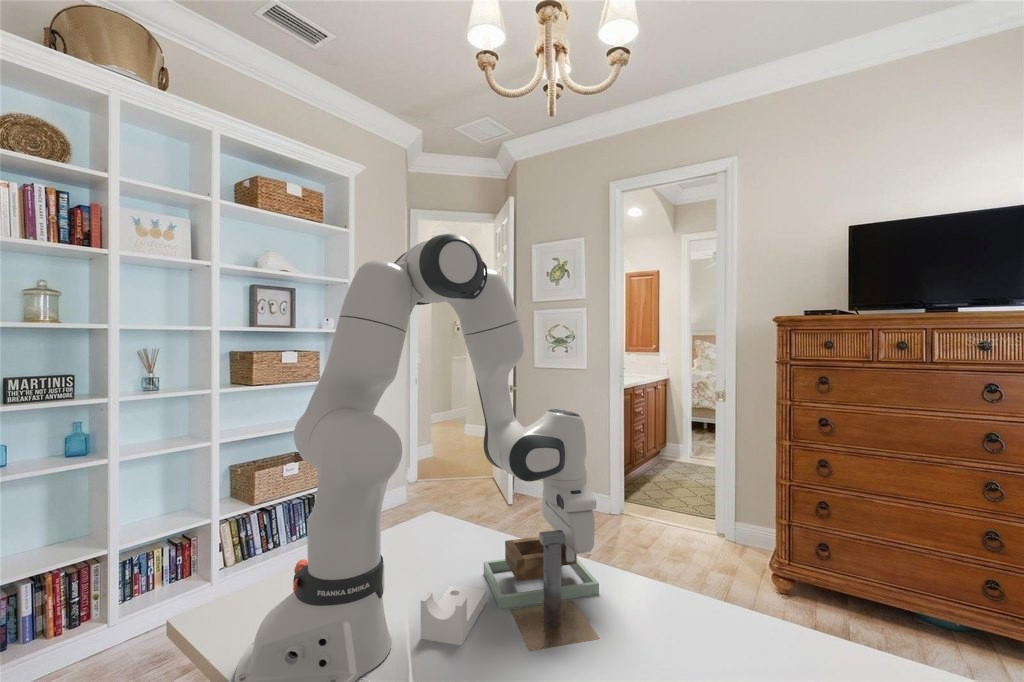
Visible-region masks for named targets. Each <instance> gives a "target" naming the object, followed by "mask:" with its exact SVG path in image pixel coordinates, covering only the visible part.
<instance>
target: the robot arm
mask: <svg viewBox="0 0 1024 682" xmlns="http://www.w3.org/2000/svg"><path fill="white" fill-rule="evenodd" d="M445 302H446V303H448V304H449V305H450V306H451V307H452V308H453V310H454V311H455V313H456V315H457V317H458V319H459V324H460V327H461V328H460V329H461V331H462V334H463V335H462V336H463V339H464V344H465V346H466V349H467V352H468V354H469V355H468V356H469V359H470V361H471V362H470V363H471V365H472V368H473V372H474V375H475V380H476V385H477V390H478V395H479V400H480V403H481V409H482V413H483V418H484V425H485V426H484V437H483V451H484V455H485V457H486V458H487V460H488V462H489V463H490V464H491V465H493V466H494V467H496V468H498V469H500V470H503V471H505V472H506V473H508V474H510V475H511V476H513V477H515V478H516V479H518V480H521V481H524V482H535V481H539V480H543V481H542V482H543V483H542V484H543V489H542V497H541V498H542V501H541V502H542V503H541V509H542V510H541V513H542V517H543V519H544V520H545V521H546V522H547V523H548V525H549V526H550V527H551V528H552V529H553V531H555V530H562V531H563V532H564V534H565V545H566V549H565V550H564V559H565V560H566V561H567V562H573V561H574V559H575V553H576V554H578V555H581V554H587V553H592V552H593V549H594V546H595V534H596V533H595V532H596V531H595V529H596V528H595V527H596V525H595V524H596V521H595V520H596V518H595V514H594V510H596V509H597V499H596V497H595V495H594V493H593V492H592V491H591V489H590V486H589V483H588V480H587V477H588V476H587V470H586V466H585V465H586V464H585V463H586V458H587V434H586V427H585V422H584V419H583V417H582V416H581V415H579V414H578V413H576V412H573V411H568V410H564V409H559V408H557V409H555V408H554V409H553V408H552V409H548V410H547V411H546V412H545V413H544V415H542V417H540V418H539V419H537V420H536V421H534V422H533V423H531V424H530V425H527V426H523V425H522V424H521V423H520V422H519V421H518V420H517V418H516V416H515V412H514V409H513V404H512V397H511V395H510V394H511V393H510V389H509V376H510V372H511V371H512V369H514V368H515V367H516V366H517V364H518V363H519V362H520V360H521V359H522V357H523V355H524V352H525V350H524V349H525V348H524V346H525V345H524V335H523V331H522V327H521V326H522V325H521V323H520V319H519V315H518V312H517V309H516V306H515V303H514V300H513V297H512V295H511V292H510V290H509V288H508V286H507V283H506V282H505V280H504V278H503V276H502V275H501V274H500V273H499V272H498V271H496V270H493V269H491V268H488V266H487V265H486V263H485V262H484V261H483V259H482V256H481V254H480V253H479V251H478V249H477V248H476V247H475V245H474V244H473V243H472V242H471V241H470V240H469V239H467V238H466V237H464V236H462V235H459V234H455V233H453V234H452V233H445V234H444V233H443V234H439V235H436V236H434V237H432V238H430V239H429V240H425V241H422V242H420V243H417V244H416V245H414V246H413V247H411V248H410V249H409V250H408V251H406V252H404V253H403V254H402V255H400V256H399V257H398V258H397V260H395V261H394V262H392V261H387V260H383V259H380V260H379V259H376V260H370V261H366V262H365V263H363V264H362V265H360V267H358V268H357V270H356V273H355V275H354V277H353V279H352V280H351V283H350V284H349V288H348V290H347V293H346V295H345V298H344V300H343V304H342V306H341V310H340V313H339V316H338V320H337V324H336V329H335V331H334V336H333V339H332V343H331V346H330V351H329V354H328V357H327V361H326V364H325V365H324V370H323V372H322V374H321V376H320V378H319V380H318V383H317V385H316V386H315V389H314V391H313V393H312V395H311V397H310V400H309V402H308V404H307V407H306V409H305V411H304V412H303V414H302V415H301V416H300V417H299V419H297V422H296V424H295V427H294V430H293V431H294V432H293V441H294V444H295V448H296V450H297V452H298V454H299V456H300V457H301V458H302V460H303V461H304V462H305V463H306V464H308V465H309V466H310V467H313V468H314V469H315V470H316V474H317V479H318V480H317V482H318V483H317V489H316V495H315V499H314V504H313V508H312V511H311V512H310V513H309V515H308V517H307V522H306V523H307V524H306V525H307V526H306V527H307V528H306V529H307V534H306V535H307V536H306V539H307V542H306V543H307V559H306V558H304V559H300V560H298V561H297V562H296V565H295V567H294V569H293V572H294V575H293V586H292V587H293V589H292V590H293V592H291V593H290V594H289V595H288V596H286V597H285V598H284V599H283V600H282V601H280V602H279V603H278V604H277V605H275V606H274V607H273V608H271V609H270V611H268V613H267V614H266V615H265V616H264V617H263V620H262V621H261V624H260V625H259V628H258V630H257V632H256V635H255V638H254V641H253V642H252V643H250V645H249V646H248V647H247V648H246V650H244V652H243V654H242V656H241V658H240V660H239V661H238V663H237V666H236V671H235V674H234V681H233V682H356V681H357V680H358V679H359V678H360V677H362V676H363V675H365V674H366V673H368V672H370V671H372V670H373V669H375V668H376V667H377V666H378V665H380V664H381V663H382V662H383V661H384V660H385V659H386V658H387V656H389V655H388V654H389V653H390V651H391V649H392V648H391V647H392V637H391V634H390V632H389V629H388V623H387V620H386V614H385V608H384V607H385V606H384V597H383V595H384V590H385V564H384V557H383V556H382V553H381V548H382V547H381V542H382V541H381V539H382V537H381V536H382V535H381V534H382V533H381V532H382V530H381V529H382V527H381V526H382V525H381V523H382V521H381V520H382V518H381V517H382V509H383V504H384V503H383V502H384V498H385V493H386V489H387V487H388V482H389V480H390V478H392V477H393V476H394V474H395V473H396V471H397V469H399V466H400V463H401V461H402V457H403V443H402V440H401V438H400V436H399V433H398V432H397V431H396V430H395V428H394V427H392V426H391V425H390V424H389V423H388V422H387V421H386V420H384V419H383V418H382V417H381V416H379V415H377V414H374V412H375V410H376V408H377V406H378V404H379V403H380V400H381V398H382V397H383V394H384V393H385V391H386V390H387V389H388V387H389V386H391V384H392V383H393V382H394V381H395V379H396V376H397V374H398V371H399V370H398V369H399V365H400V361H401V357H402V354H403V348H404V344H405V339H406V336H407V331H408V327H409V321H410V317H411V315H412V313H413V310H414V308H415V306H416V305H417V306H422V305H423V306H424V305H430V304H440V303H445Z"/></svg>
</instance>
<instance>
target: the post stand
mask: <svg viewBox="0 0 1024 682" xmlns="http://www.w3.org/2000/svg"><path fill="white" fill-rule="evenodd" d="M538 535H539V536H538V537H539V541H540V542H541V544H542V545H543V546H544V577H543V589H544V602H543V604H538V605H537V604H535V605H529V606H525V607H519V608H516V607H515V608H511V609H510V608H509V610H510V613H511V614H512V617H513V619H514V621H515V623H516V626H517V628H518V630H519V632H520V634H521V636H522V639H523V641H524V643H525V646H526V647H527V649H528V651H529V652H533V651H538V650H545V649H551V648H555V647H561V646H567V645H572V644H577V643H578V644H579V643H583V642H588V641H589V642H590V641H595V640H600V637H599V635H598V634H597V632H596V631H595V630H594V629H593V627H592V626H591V624H590V623H589V621H588V620H587V619H586V617H585V616H584V614H583V613H582V612H581V610H580V609H579V608H578V606H577V605H576V604H575V602H574V600H573V599H570V600H569V599H568V600H561V586H562V575H561V544H562V543H565V534H564V532H563V531H562V530H555V531H554V530H547V531H546V530H545V531H539V533H538Z"/></svg>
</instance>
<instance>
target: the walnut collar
mask: <svg viewBox="0 0 1024 682" xmlns="http://www.w3.org/2000/svg"><path fill="white" fill-rule="evenodd" d="M504 547H505V548H504V549H505V551H504V552H505V554H504V555H505V557H504V559H505V560H506V562H507V564H508V566H509V567H510V569H511V571H510V572H511V573H512V575H513V576H514V578H515V580H516V581H517V582H518V581H527V580H533V579H539V578H541V579H542V578H544V546H543V545H542V544H541V542H540V541H539V536H533V537H524V538H516V539H510V540H509V539H508V540H505V541H504ZM565 549H566V545H565V543H562V544H561V576H562V575H563V574H562V568H563V566H571V565H572V564H577V559H578V558H577V554H576V553H575V559H574V561H573V562H567V561H566V560H565V559H564V550H565Z"/></svg>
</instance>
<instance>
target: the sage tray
mask: <svg viewBox="0 0 1024 682" xmlns="http://www.w3.org/2000/svg"><path fill="white" fill-rule="evenodd" d="M570 566H571V567H572V568H573V570H574V571H575V572H576V573H577V574H578V576H579V577H580V578H581V579H582V581H584V582H583V583H576V584H569V585H563V586H562V585H561V601H564V600H569V599H575V598H581V597H588V596H594V595H595V596H596V595H600V582H598V580H597V579H596V578H595V577H594V576H593V574H592V573H591V572H590V571H589V570H588V569H587V567H586V566H585V565H584V564H583V563H582V562H581V561H580V560H579V559H578V558H577V564H572V565H570ZM507 572H512V571H511V569H510V567H509V566H508V564H507V562H506V560H505V558H504V559H496V560H488V561H483V575H484V576H485V577H486V580H487V582H488V584H489V587H490V589H491V592H492V594H493V596H494V599H495V602H496V603H497V606H498V608H499V610H503V609H508V608H509V609H510V608H514V607H515V608H516V607H522V606H528V605H529V606H531V605H534V604H535V605H537V604H541V603H543V604H544V588H542V589H534V590H528V591H527V590H526V591H520V592H513V593H508V594H503V593H502V590H501V588H500V586H499V583H498V582H497V579H496V577H495V575H494V574H496V573H497V574H498V573H507Z"/></svg>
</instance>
